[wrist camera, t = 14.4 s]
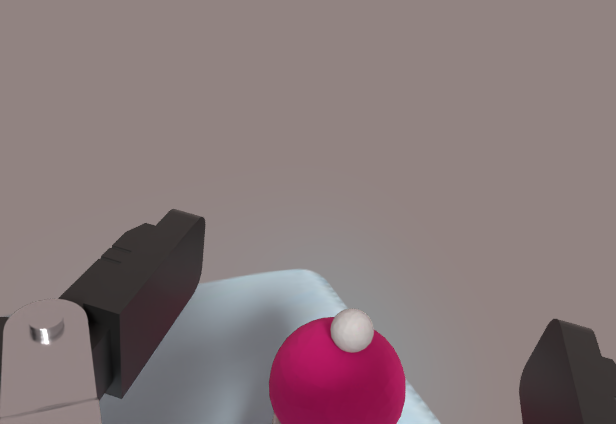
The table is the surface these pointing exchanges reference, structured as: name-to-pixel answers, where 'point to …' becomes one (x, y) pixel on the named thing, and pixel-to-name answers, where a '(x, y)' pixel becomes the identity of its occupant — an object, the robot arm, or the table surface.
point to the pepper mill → (337, 374)
